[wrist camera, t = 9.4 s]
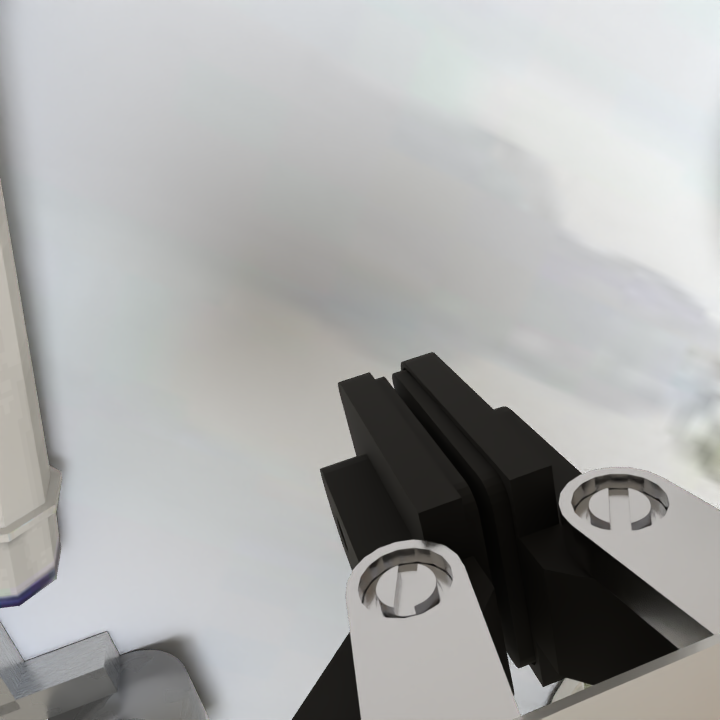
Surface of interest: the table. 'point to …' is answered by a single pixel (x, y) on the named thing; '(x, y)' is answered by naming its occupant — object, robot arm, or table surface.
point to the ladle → (95, 684)
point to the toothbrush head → (22, 453)
